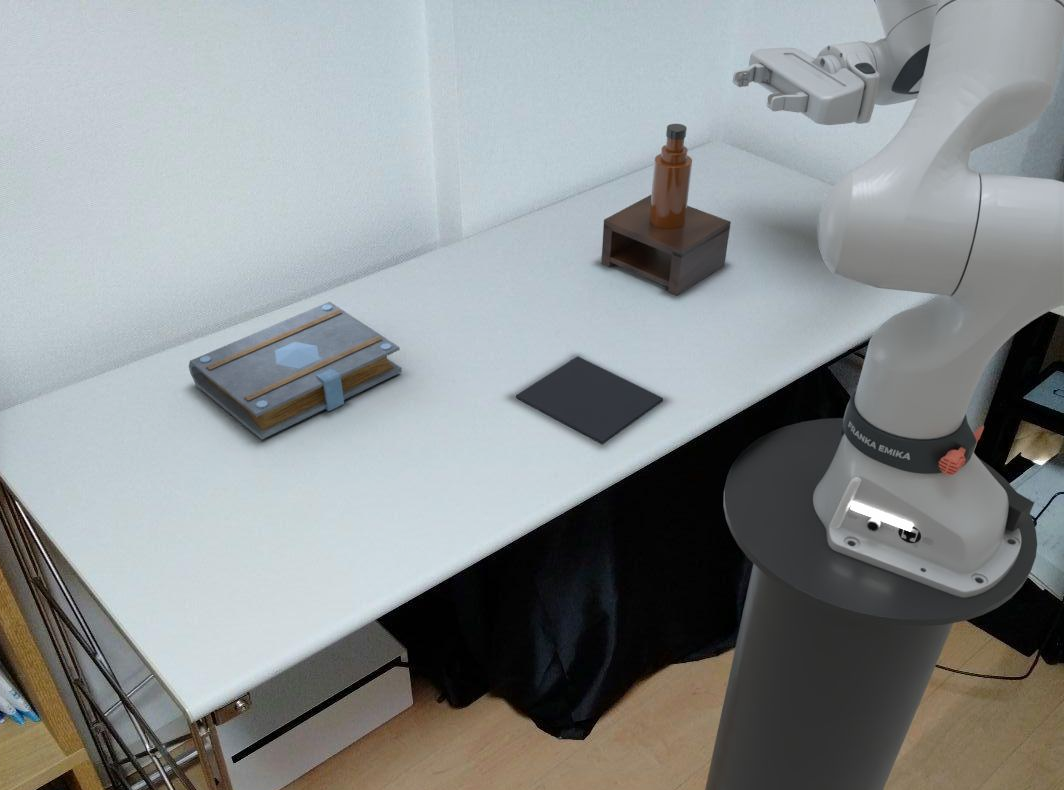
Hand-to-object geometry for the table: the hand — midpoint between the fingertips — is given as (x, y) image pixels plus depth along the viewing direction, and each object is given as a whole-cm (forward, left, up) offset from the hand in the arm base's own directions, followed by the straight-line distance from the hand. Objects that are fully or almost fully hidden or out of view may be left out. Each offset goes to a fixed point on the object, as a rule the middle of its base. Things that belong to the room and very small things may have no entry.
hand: (752, 91), depth 141 cm
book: (+21, +66, -24) cm, 73 cm away
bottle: (+5, +10, -17) cm, 20 cm away
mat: (-9, +44, -24) cm, 51 cm away
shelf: (+5, +10, -24) cm, 26 cm away
